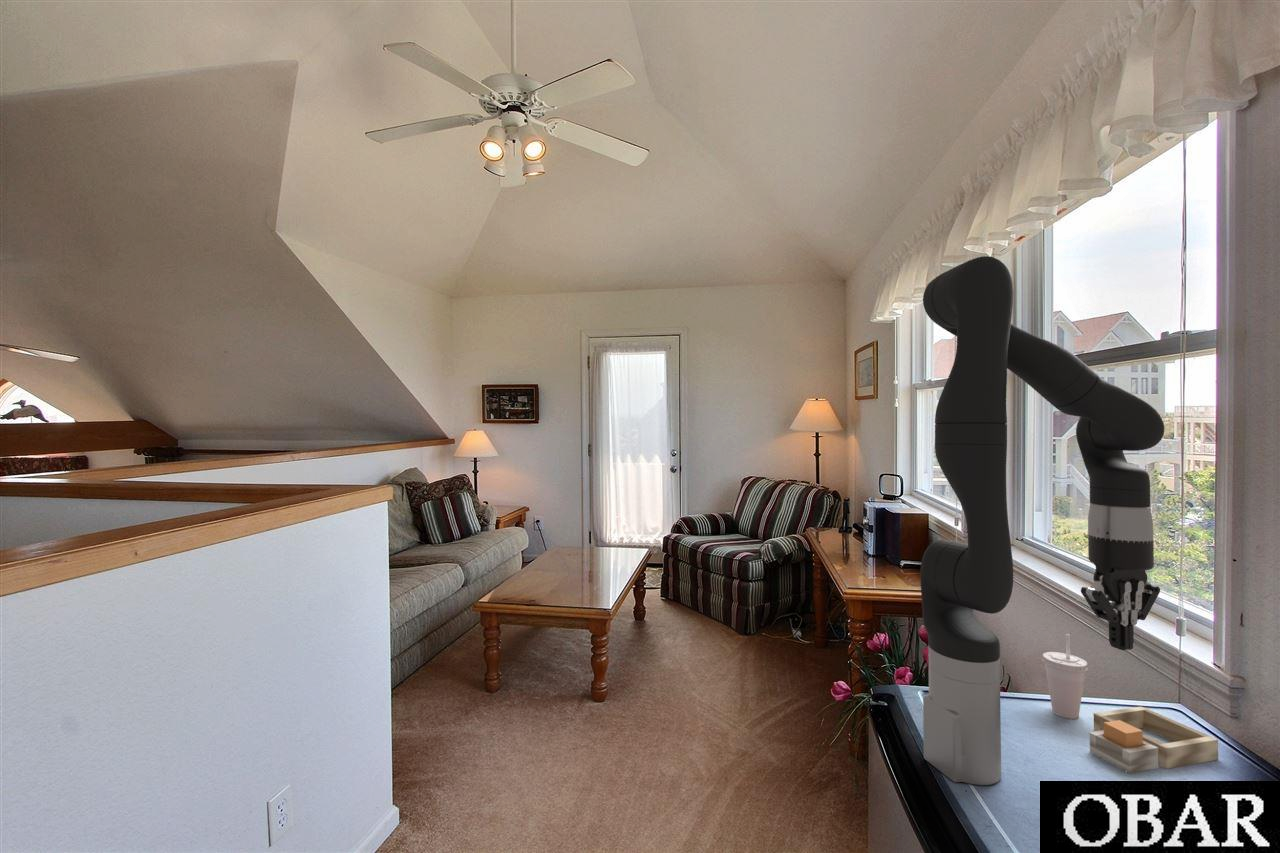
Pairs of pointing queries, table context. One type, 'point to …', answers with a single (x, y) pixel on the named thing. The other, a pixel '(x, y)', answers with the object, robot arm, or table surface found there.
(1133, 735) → the button
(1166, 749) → the station
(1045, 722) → the table surface
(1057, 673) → the smoothie
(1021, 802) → the table surface
